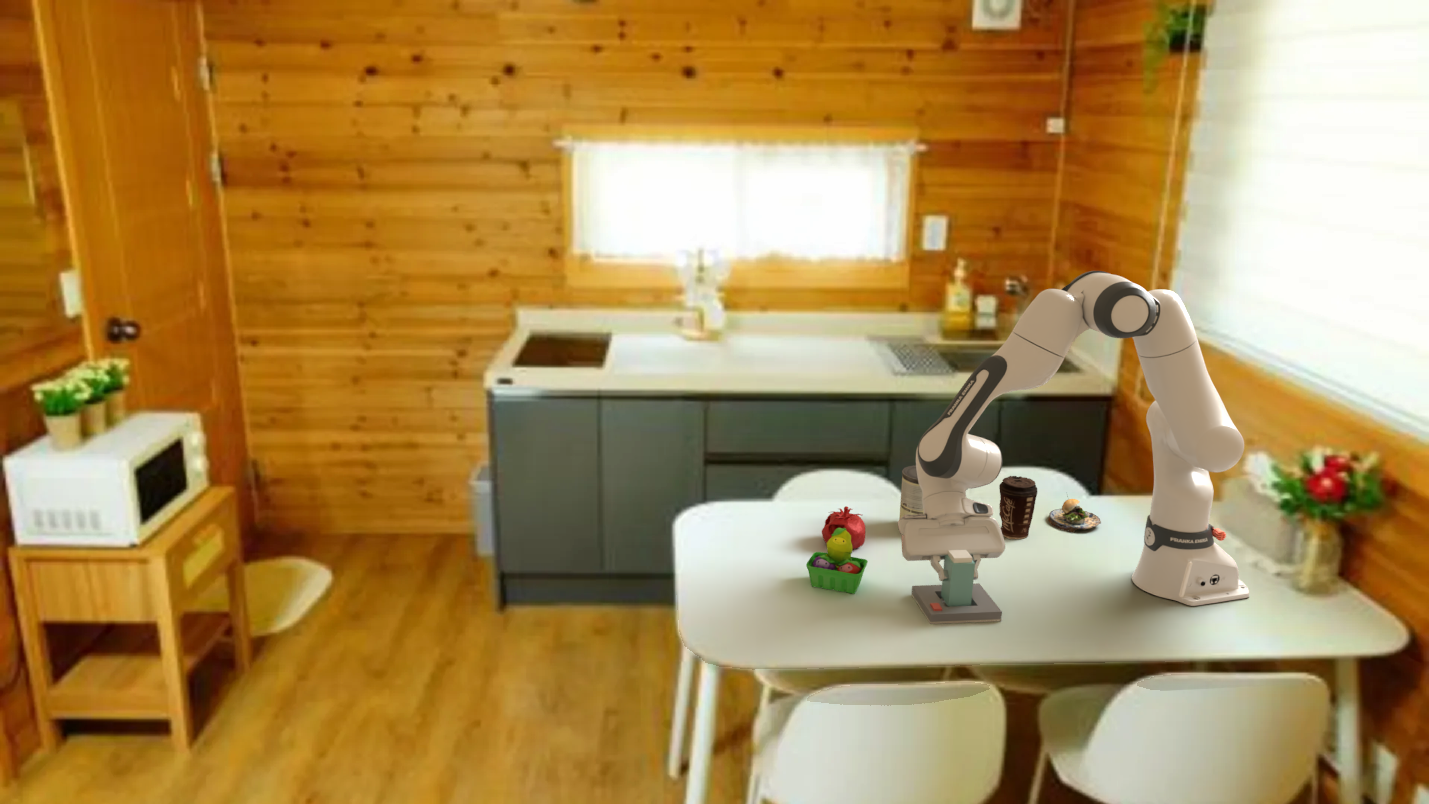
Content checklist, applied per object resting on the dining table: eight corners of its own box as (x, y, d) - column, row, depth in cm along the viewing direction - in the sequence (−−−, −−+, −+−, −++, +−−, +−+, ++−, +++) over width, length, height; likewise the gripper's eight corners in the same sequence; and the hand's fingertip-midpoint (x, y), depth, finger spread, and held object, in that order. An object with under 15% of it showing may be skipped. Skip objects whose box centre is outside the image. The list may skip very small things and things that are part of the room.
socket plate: (978, 592, 212) (979, 581, 211) (1000, 621, 200) (1002, 609, 199) (911, 594, 210) (912, 583, 209) (930, 623, 198) (931, 612, 198)
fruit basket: (803, 588, 212) (806, 537, 209) (815, 570, 220) (817, 520, 217) (858, 598, 208) (862, 546, 205) (868, 580, 216) (871, 529, 213)
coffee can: (908, 517, 249) (912, 461, 245) (949, 527, 243) (954, 470, 239) (890, 531, 240) (895, 474, 236) (933, 542, 235) (938, 483, 231)
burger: (1076, 538, 240) (1079, 507, 237) (1037, 520, 249) (1040, 491, 247) (1111, 528, 245) (1115, 498, 243) (1072, 511, 255) (1075, 482, 253)
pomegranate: (853, 533, 239) (855, 495, 236) (873, 551, 230) (876, 512, 227) (813, 538, 236) (815, 500, 233) (832, 556, 227) (834, 516, 224)
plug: (962, 594, 207) (967, 548, 204) (970, 605, 203) (975, 558, 200) (940, 595, 206) (945, 549, 204) (948, 606, 202) (952, 559, 199)
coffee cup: (1004, 523, 246) (1010, 471, 243) (1038, 532, 241) (1045, 480, 238) (988, 534, 240) (994, 481, 236) (1023, 544, 235) (1029, 490, 231)
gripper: (900, 508, 205) (911, 576, 199) (1000, 505, 208) (1014, 572, 201) (892, 520, 211) (903, 586, 204) (989, 517, 213) (1003, 583, 207)
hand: (959, 579), depth 203 cm, fingers closed on plug, 4 cm apart
